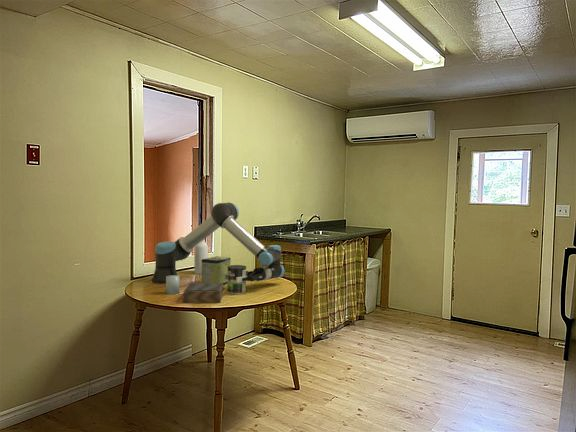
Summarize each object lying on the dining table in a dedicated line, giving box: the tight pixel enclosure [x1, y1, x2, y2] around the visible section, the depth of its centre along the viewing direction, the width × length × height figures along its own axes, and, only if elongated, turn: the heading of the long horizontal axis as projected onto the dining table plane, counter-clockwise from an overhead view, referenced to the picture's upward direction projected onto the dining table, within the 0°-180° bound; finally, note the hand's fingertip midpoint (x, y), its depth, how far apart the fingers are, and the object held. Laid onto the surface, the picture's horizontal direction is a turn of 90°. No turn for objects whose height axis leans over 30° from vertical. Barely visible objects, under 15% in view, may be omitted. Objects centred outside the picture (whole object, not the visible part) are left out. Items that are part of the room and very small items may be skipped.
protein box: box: [200, 255, 231, 286], centre depth 252 cm, size 10×16×16 cm
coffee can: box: [226, 264, 247, 295], centre depth 233 cm, size 10×10×14 cm
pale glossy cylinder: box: [165, 274, 181, 295], centre depth 229 cm, size 7×7×9 cm
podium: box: [182, 282, 224, 304], centre depth 218 cm, size 18×18×6 cm
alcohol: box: [193, 238, 209, 275], centre depth 285 cm, size 9×9×30 cm
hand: (230, 278), depth 230 cm, fingers closed on coffee can, 10 cm apart
